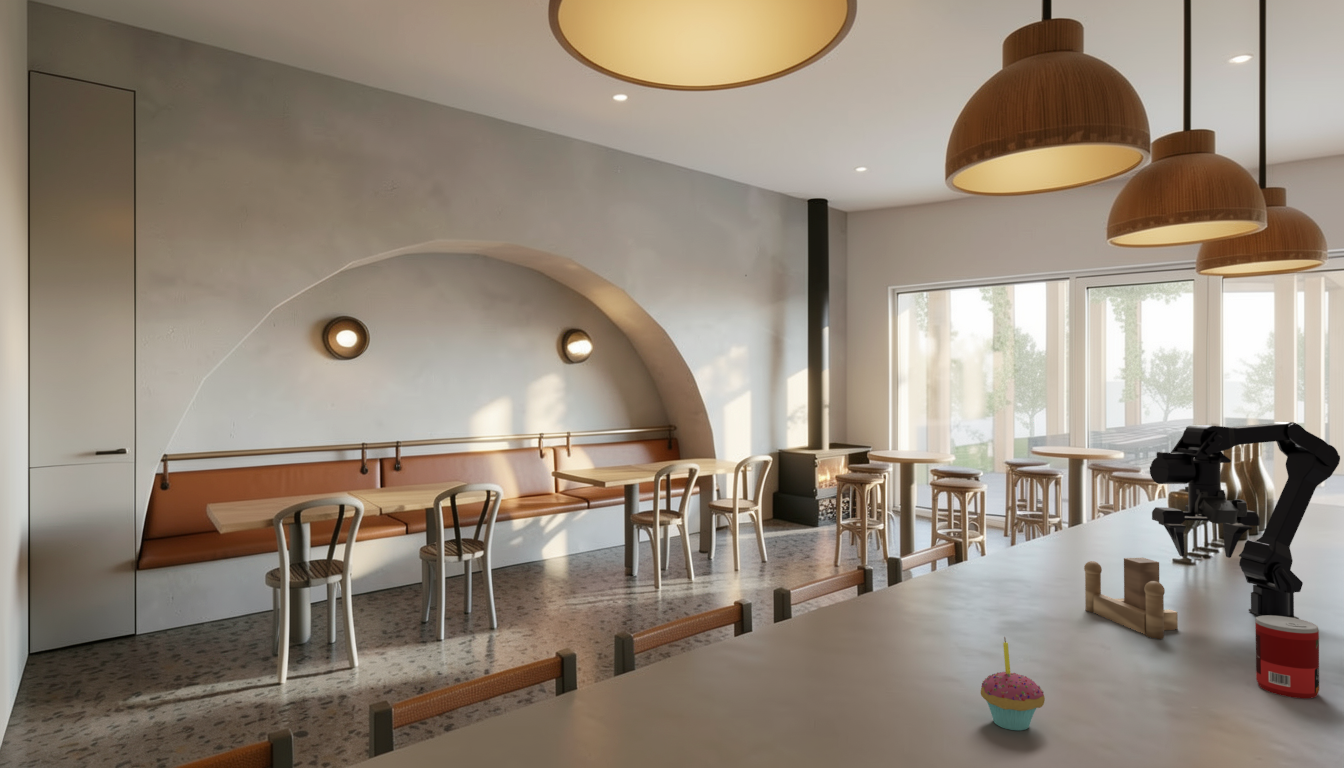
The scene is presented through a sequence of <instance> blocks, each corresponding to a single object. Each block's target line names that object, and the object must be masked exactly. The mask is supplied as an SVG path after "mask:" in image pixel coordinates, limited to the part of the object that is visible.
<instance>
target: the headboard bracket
mask: <svg viewBox="0 0 1344 768" xmlns="http://www.w3.org/2000/svg"><path fill="white" fill-rule="evenodd" d="M1083 569H1084V570H1083V571H1084V576H1085V577H1084V579H1085V580H1084V581H1085V583H1084V584H1085V585H1084V590H1085V591H1084V593H1085V597H1084V598H1085V611H1086V612H1088V611H1089V612H1088V613H1093V612H1094V613H1093V614H1095V613H1096V614H1095V615H1097V614H1098V616H1099V617H1102V618H1104V617H1105V619H1107V620H1109V619H1110V621H1111V620H1112V622H1114V623H1117V624H1118V625H1120V626H1123V625H1124V627H1125V628H1128V629H1130V628H1131V630H1133V629H1134V630H1133V631H1135V630H1136V632H1138V633H1140V632H1141V634H1142V633H1143V634H1142V635H1145V636H1146V637H1147V636H1148V637H1147V638H1149V637H1151V638H1150V639H1153V638H1157V639H1156V640H1163V638H1164V639H1165V631H1173V630H1175V629H1177V630H1178V627H1179V626H1178V624H1179V620H1178V612H1177V611H1174V610H1172V609H1171V608H1170V609H1164V607H1165V604H1164V602H1165V601H1164V597H1165V596H1164V595H1165V591H1166V590H1165V587H1164V585H1163V584H1162V583H1161V582H1160V581H1159V582H1156V581H1150V582H1148V583H1147V584H1146V585H1145V587H1144V590H1145V593H1146V611H1145V610H1142V609H1139V608H1137V607H1134V606H1131V605H1129V604H1126V603H1124V597H1123V598H1121V597H1120V598H1113V597H1109V596H1108V595H1105V594H1102V590H1101V589H1102V584H1101V583H1102V571H1103V570H1102V569H1103V568H1102V566H1101V565H1100V563H1099V562H1098V561H1093V560H1089V561H1087V562H1086V563H1085V564H1084V567H1083ZM1177 630H1176V631H1177Z"/></svg>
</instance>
